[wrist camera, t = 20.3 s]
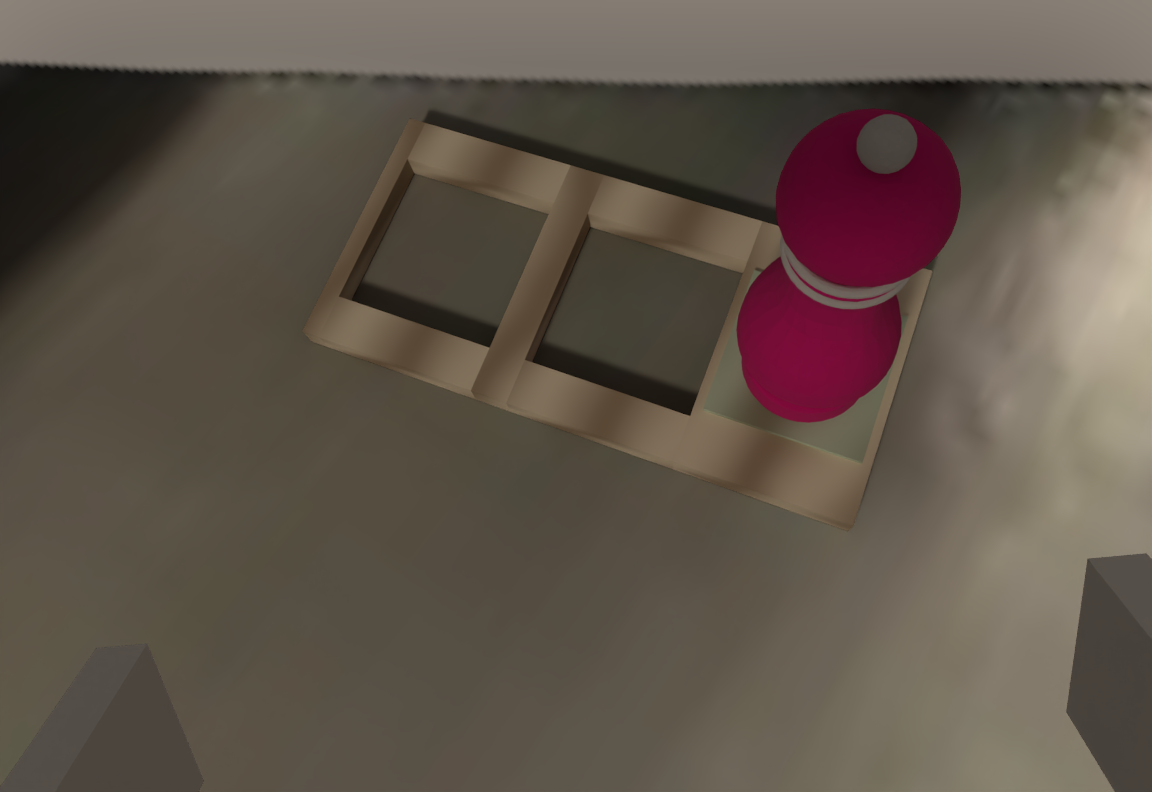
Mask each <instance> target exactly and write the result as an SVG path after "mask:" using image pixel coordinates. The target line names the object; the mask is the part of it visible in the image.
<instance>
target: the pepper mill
mask: <svg viewBox="0 0 1152 792" xmlns="http://www.w3.org/2000/svg"><path fill="white" fill-rule="evenodd" d="M960 198H961V186H960V178H959V172H958V169H957V167H956V164H955V161H954V159H953V156H952V153H951V152H950V150H949V149H948V147H947V146H946V145H945V143H944V142H943V140H942V139H941V138H940V137H939V136H938V135H937V134H936V133H935V132H934V131H932V130H931V129H930V128H928V127H927V126H925V125H924V124H923V123H921V122H920V121H918V120H916V119H913V118H911V117H909V116H907V115H905V114H902V113H898V112H894V111H890V110H882V109H862V110H855V111H850V112H846V113H842V114H839V115H837V116H835V117H832V118H830V119H828V120H826V121H824V122H823V123H821V124H820V125H818V126H817V127H815V128H814V129H812V130H811V131H810V132H809V133H808V134H807V135H806V136H805V137H804V138H803V139H802V140H801V141H800V142H799V143H798V144H797V146H796V147H795V148H794V150H793V151H792V152H791V154H790V156H789V158H788V160H787V162H786V164H785V166H784V168H783V170H782V172H781V175H780V179H779V182H778V185H777V191H776V213H777V223H778V226H779V228H780V231H781V239H780V253H781V257H779V258H777V259H776V260H775V261H773V262H772V263H771V264H770V265H769V266H768V267H767V268H766V269H765V270H764V271H763V272H762V273H761V274H759V275H758V276H757V278H756V279H755V280H754V282H753V283H752V284H751V286H750V288H749V290H748V292H747V293H746V295H745V298H744V300H743V303H742V305H741V309H740V312H739V315H738V321H737V329H736V332H737V341H738V347H739V351H740V354H741V357H742V361H741V363H742V371H743V376H744V378H745V381H746V384H747V386H748V388H749V390H750V392H751V393H752V395H753V396H754V397H755V398H756V399H757V400H758V401H759V402H760V404H761V405H762V406H763V407H765V408H766V409H767V410H769V411H771V412H772V413H774V414H776V415H778V416H780V417H782V418H785V419H788V420H791V421H796V422H806V423H810V422H820V421H824V420H828V419H831V418H834V417H836V416H838V415H840V414H842V413H844V412H845V411H847V410H848V409H849V408H850V407H851V406H853V405H854V404H855V403H856V401H857V400H858V399H859V398H860V397H862V396H864V395H866V394H867V393H868V392H870V391H871V390H872V389H873V388H875V387H876V386H877V385H878V384H879V383H880V382H881V380H882V379H883V378H884V377H885V376H886V375H887V373H888V371H889V369H890V368H891V366H892V364H893V361H894V359H895V356H896V353H897V350H898V346H899V343H900V339H901V329H902V321H901V314H900V307H899V301H898V298H897V295H896V294H897V293H898V292H899V291H900V290H901V289H902V288H903V287H904V286H905V284H906V283H907V282H908V280H909V279H910V277H911V276H912V275H913V274H915V273H916V272H918V271H919V270H921V269H922V268H924V267H925V266H927V265H928V264H929V263H930V262H931V261H932V260H933V259H934V258H935V257H936V256H937V254H938V253H939V252H940V251H941V249H942V248H943V247H944V245H945V244H946V242H947V240H948V239H949V237H950V236H951V234H952V231H953V229H954V226H955V224H956V221H957V217H958V212H959V208H960Z"/></svg>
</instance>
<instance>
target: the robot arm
mask: <svg viewBox="0 0 1152 792" xmlns="http://www.w3.org/2000/svg"><path fill="white" fill-rule="evenodd" d="M1066 712H1067V714H1068V715H1069V717H1070V719H1071V720H1072V722H1073V724H1074V725H1075V727H1076V729H1077V730H1078V732H1079V733H1080V735H1081V737H1082V738H1083V740H1084V742H1085V743H1086V745H1087V747H1088V748H1089V750H1090V751H1091V753H1092V755H1093V756H1094V758H1095V760H1096V761H1097V763H1098V765H1099V766H1100V768H1101V770H1102V771H1103V773H1104V774H1105V776H1106V778H1107V779H1108V781H1109V783H1110V784H1111V786H1112V788H1113V789H1114V791H1115V792H1152V559H1151V558H1150V557H1149V556H1148V555H1147V554H1135V555H1124V556H1113V557H1102V558H1091V559H1088V560H1087V567H1086V574H1085V581H1084V588H1083V596H1082V603H1081V610H1080V617H1079V624H1078V632H1077V639H1076V646H1075V653H1074V660H1073V668H1072V675H1071V682H1070V689H1069V696H1068V703H1067V711H1066ZM203 782H204V780H203V777H202V775H201V772H200V770H199V768H198V765H197V763H196V760H195V758H194V756H193V753H192V751H191V748H190V746H189V743H188V741H187V739H186V736H185V734H184V731H183V729H182V726H181V724H180V722H179V719H178V717H177V714H176V712H175V710H174V707H173V705H172V702H171V700H170V697H169V695H168V693H167V690H166V688H165V685H164V683H163V680H162V678H161V676H160V673H159V671H158V668H157V666H156V664H155V661H154V659H153V656H152V654H151V651H150V649H149V647H148V644H137V645H126V646H115V647H104V648H96V649H95V651H94V652H93V653H92V655H91V656H90V658H89V659H88V661H87V662H86V664H85V665H84V666H83V668H82V669H81V671H80V672H79V674H78V675H77V677H76V678H75V680H74V681H73V682H72V684H71V685H70V687H69V688H68V690H67V691H66V693H65V694H64V695H63V697H62V698H61V700H60V701H59V703H58V704H57V706H56V707H55V708H54V710H53V711H52V713H51V714H50V716H49V717H48V719H47V720H46V722H45V723H44V724H43V726H42V727H41V729H40V730H39V732H38V733H37V735H36V736H35V737H34V739H33V740H32V742H31V743H30V745H29V746H28V748H27V749H26V750H25V752H24V753H23V755H22V756H21V758H20V759H19V761H18V762H17V764H16V765H15V766H14V768H13V769H12V771H11V772H10V774H9V775H8V777H7V778H6V779H5V781H4V782H3V784H2V785H1V787H0V792H199V790H200V788H201V786H202V784H203Z"/></svg>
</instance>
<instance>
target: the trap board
mask: <svg viewBox="0 0 1152 792" xmlns="http://www.w3.org/2000/svg"><path fill="white" fill-rule="evenodd" d="M414 173H415V174H418V175H421V176H425V177H428V178H431V179H435V180H438V181H441V182H444V183H448V184H451V185H454V186H458V187H461V188H464V189H467V190H471V191H474V192H477V193H481V194H484V195H487V196H490V197H494V198H497V199H500V200H503V201H507V202H510V203H513V204H517V205H520V206H523V207H526V208H530V209H533V210H536V211H540V212H543V213H546V214H549V215H548V217H547V220H546V222H545V224H544V226H543V229H542V231H541V233H540V235H539V238H538V240H537V242H536V244H535V247H534V249H533V251H532V253H531V256H530V258H529V260H528V262H527V265H526V267H525V269H524V272H523V274H522V276H521V278H520V281H519V283H518V285H517V287H516V290H515V292H514V294H513V296H512V299H511V301H510V303H509V305H508V308H507V310H506V312H505V314H504V317H503V319H502V321H501V323H500V326H499V328H498V330H497V332H496V335H495V337H494V339H493V341H492V344H491V346H490V348H489V347H486V346H483V345H480V344H477V343H474V342H471V341H468V340H465V339H462V338H459V337H456V336H453V335H450V334H448V333H445V332H442V331H439V330H436V329H433V328H430V327H427V326H424V325H421V324H418V323H415V322H412V321H409V320H406V319H403V318H401V317H398V316H395V315H392V314H389V313H386V312H383V311H380V310H377V309H374V308H371V307H368V306H365V305H362V304H359V303H357V302H354V301H351V300H352V298H353V296H354V294H355V292H356V290H357V288H358V286H359V284H360V282H361V280H362V278H363V276H364V274H365V272H366V270H367V268H368V266H369V264H370V262H371V260H372V258H373V256H374V254H375V252H376V250H377V248H378V246H379V244H380V242H381V240H382V237H383V235H384V233H385V231H386V229H387V227H388V225H389V223H390V221H391V219H392V217H393V215H394V213H395V211H396V209H397V207H398V205H399V203H400V201H401V199H402V197H403V195H404V193H405V191H406V189H407V187H408V185H409V183H410V181H411V179H412V177H413V175H414ZM590 227H592V228H595V229H599V230H602V231H605V232H608V233H612V234H615V235H618V236H622V237H625V238H628V239H631V240H635V241H638V242H641V243H645V244H648V245H651V246H654V247H658V248H661V249H664V250H668V251H671V252H674V253H677V254H681V255H684V256H687V257H691V258H694V259H697V260H700V261H704V262H707V263H710V264H713V265H717V266H720V267H723V268H727V269H730V270H733V271H736V272H740V273H743V275H742V278H741V280H740V283H739V286H738V288H737V291H736V294H735V296H734V299H733V302H732V304H731V307H730V310H729V313H728V315H727V318H726V321H725V323H724V326H723V329H722V331H721V334H720V337H719V339H718V342H717V345H716V348H715V350H714V353H713V356H712V358H711V361H710V364H709V366H708V369H707V372H706V374H705V377H704V380H703V382H702V385H701V388H700V391H699V393H698V396H697V399H696V401H695V404H694V407H693V409H692V412H691V415H690V416H688V415H685V414H682V413H679V412H676V411H674V410H671V409H668V408H665V407H662V406H659V405H656V404H653V403H650V402H647V401H644V400H641V399H638V398H635V397H632V396H630V395H627V394H624V393H621V392H618V391H615V390H612V389H609V388H606V387H603V386H600V385H597V384H594V383H591V382H588V381H585V380H583V379H580V378H577V377H574V376H571V375H568V374H565V373H562V372H559V371H556V370H553V369H550V368H547V367H544V366H541V365H539V364H536V363H533V362H532V361H533V359H534V357H535V354H536V352H537V350H538V347H539V345H540V343H541V340H542V338H543V336H544V333H545V331H546V329H547V326H548V324H549V322H550V319H551V317H552V315H553V312H554V310H555V308H556V305H557V303H558V301H559V298H560V296H561V294H562V291H563V289H564V287H565V284H566V282H567V280H568V277H569V275H570V273H571V270H572V268H573V266H574V263H575V261H576V259H577V256H578V254H579V252H580V249H581V247H582V245H583V242H584V240H585V238H586V235H587V233H588V231H589V228H590ZM780 239H781V231H780V228H779V226H777V225H773V224H770V223H767V222H763V221H760V220H756V219H753V218H749V217H746V216H743V215H739V214H736V213H732V212H729V211H725V210H722V209H719V208H715V207H712V206H708V205H705V204H701V203H698V202H695V201H691V200H688V199H684V198H681V197H677V196H674V195H671V194H667V193H664V192H660V191H657V190H654V189H650V188H647V187H643V186H640V185H636V184H633V183H630V182H626V181H623V180H619V179H616V178H612V177H609V176H606V175H602V174H599V173H595V172H592V171H588V170H585V169H582V168H578V167H575V166H571V165H568V164H564V163H561V162H558V161H554V160H551V159H547V158H544V157H540V156H537V155H534V154H530V153H527V152H523V151H520V150H516V149H513V148H510V147H506V146H503V145H499V144H496V143H492V142H489V141H486V140H482V139H479V138H475V137H472V136H468V135H465V134H462V133H458V132H455V131H451V130H448V129H444V128H441V127H438V126H434V125H431V124H427V123H424V122H420V121H417V120H414V119H409V121H408V123H407V125H406V127H405V129H404V131H403V133H402V135H401V137H400V139H399V141H398V143H397V145H396V147H395V149H394V151H393V153H392V155H391V157H390V159H389V161H388V163H387V165H386V167H385V169H384V171H383V173H382V175H381V177H380V179H379V180H378V182H377V184H376V186H375V188H374V190H373V192H372V194H371V196H370V198H369V200H368V202H367V204H366V206H365V208H364V210H363V212H362V214H361V216H360V218H359V220H358V222H357V224H356V226H355V228H354V230H353V232H352V234H351V236H350V238H349V240H348V242H347V244H346V246H345V248H344V250H343V252H342V254H341V256H340V258H339V260H338V262H337V264H336V266H335V267H334V269H333V271H332V273H331V275H330V277H329V279H328V281H327V283H326V285H325V287H324V289H323V291H322V293H321V295H320V297H319V299H318V301H317V303H316V305H315V307H314V309H313V311H312V313H311V315H310V317H309V319H308V321H307V323H306V325H305V327H304V329H303V332H304V334H305V335H306V336H307V337H308V338H309V339H310V340H311V341H312V342H315V343H318V344H320V345H323V346H326V347H329V348H332V349H335V350H337V351H340V352H343V353H346V354H349V355H352V356H354V357H357V358H360V359H363V360H366V361H368V362H371V363H374V364H377V365H380V366H383V367H385V368H388V369H391V370H394V371H397V372H400V373H402V374H405V375H408V376H411V377H414V378H416V379H419V380H422V381H425V382H428V383H431V384H433V385H436V386H439V387H442V388H445V389H448V390H450V391H453V392H456V393H459V394H462V395H464V396H467V397H470V398H473V399H476V400H479V401H481V402H484V403H487V404H490V405H493V406H496V407H498V408H501V409H504V410H507V411H510V412H513V413H515V414H518V415H521V416H524V417H527V418H529V419H532V420H535V421H538V422H541V423H544V424H546V425H549V426H552V427H555V428H558V429H561V430H563V431H566V432H569V433H572V434H575V435H577V436H580V437H583V438H586V439H589V440H592V441H594V442H597V443H600V444H603V445H606V446H609V447H611V448H614V449H617V450H620V451H623V452H625V453H628V454H631V455H634V456H637V457H640V458H642V459H645V460H648V461H651V462H654V463H657V464H659V465H662V466H665V467H668V468H671V469H674V470H676V471H679V472H682V473H685V474H688V475H690V476H693V477H696V478H699V479H702V480H705V481H707V482H710V483H713V484H716V485H719V486H722V487H724V488H727V489H730V490H733V491H736V492H738V493H741V494H744V495H747V496H750V497H753V498H755V499H758V500H761V501H764V502H767V503H770V504H772V505H775V506H778V507H781V508H784V509H786V510H789V511H792V512H795V513H798V514H801V515H803V516H806V517H809V518H812V519H815V520H818V521H820V522H823V523H826V524H829V525H832V526H834V527H837V528H840V529H843V530H846V531H849V530H850V529H851V528H852V527H853V526H854V523H855V519H856V516H857V513H858V510H859V506H860V503H861V500H862V497H863V494H864V490H865V487H866V484H867V481H868V477H869V474H870V471H871V468H872V465H873V461H874V458H875V455H876V452H877V448H878V445H879V442H880V439H881V436H882V432H883V429H884V426H885V423H886V419H887V416H888V413H889V410H890V407H891V403H892V400H893V397H894V394H895V390H896V387H897V384H898V381H899V378H900V374H901V371H902V368H903V365H904V361H905V358H906V355H907V352H908V349H909V345H910V342H911V339H912V336H913V332H914V329H915V326H916V323H917V320H918V316H919V313H920V310H921V307H922V303H923V300H924V297H925V294H926V291H927V287H928V284H929V281H930V278H931V274H932V271H931V270H928V269H924V268H922V269H921V270H919V271H918V272H916V273H915V274H913V275H912V276H911V277H910V279H909V280H908V282H907V283H906V284H905V286H904V287H903V288H902V289H901V290H900V291H899V292H898V293H897V294H896V295H897V298H898V301H899V307H900V314H901V321H902V329H901V339H900V343H899V346H898V350H897V353H896V356H895V359H894V361H893V364H892V366H891V368H890V369H889V371H888V373H887V375H886V376H885V377H884V378H883V379H882V380H881V382H880V383H879V384H878V385H877V386H876V387H875V388H873V389H872V390H871V391H870V392H868V393H867V394H866V395H864V396H862V397H860V398H859V399H858V400H857V401H856V403H855V404H854V405H853V406H851V407H850V408H849V409H848V410H847V411H845V412H844V413H842V414H840V415H838V416H836V417H834V418H831V419H828V420H824V421H820V422H810V423H806V422H796V421H791V420H788V419H785V418H782V417H780V416H778V415H776V414H774V413H772V412H771V411H769V410H767V409H766V408H765V407H763V406H762V405H761V404H760V402H759V401H758V400H757V399H756V398H755V397H754V396H753V395H752V393H751V392H750V390H749V388H748V386H747V384H746V381H745V378H744V376H743V371H742V363H741V361H742V357H741V354H740V351H739V347H738V341H737V332H736V329H737V321H738V315H739V312H740V309H741V305H742V303H743V300H744V298H745V295H746V293H747V292H748V290H749V288H750V286H751V284H752V283H753V282H754V280H755V279H756V278H757V276H758V275H759V274H761V273H762V272H763V271H764V270H765V269H766V268H767V267H768V266H769V265H770V264H771V263H772V262H773V261H775V260H776V259H777V258H779V257H781V253H780Z"/></svg>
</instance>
